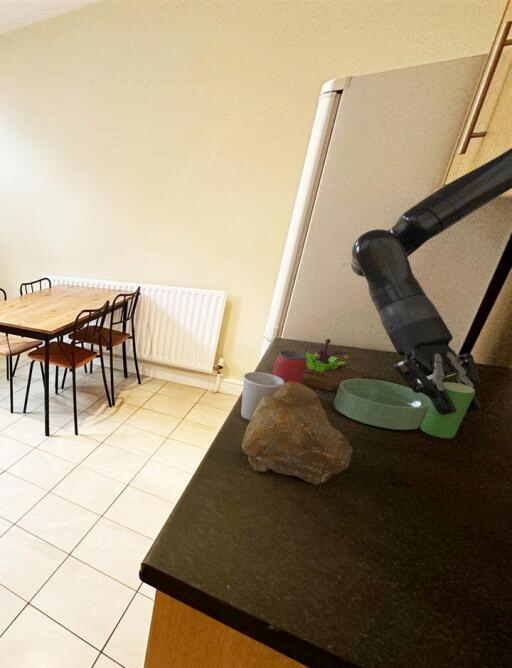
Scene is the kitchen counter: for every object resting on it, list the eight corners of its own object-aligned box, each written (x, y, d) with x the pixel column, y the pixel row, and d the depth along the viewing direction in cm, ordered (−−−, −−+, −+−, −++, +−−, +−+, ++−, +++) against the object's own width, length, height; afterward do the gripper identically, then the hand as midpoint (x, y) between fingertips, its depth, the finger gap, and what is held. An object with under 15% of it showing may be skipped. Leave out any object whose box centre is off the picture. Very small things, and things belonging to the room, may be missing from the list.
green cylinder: (434, 424, 77) (453, 380, 73) (461, 436, 73) (483, 390, 69) (413, 427, 76) (432, 383, 73) (440, 439, 72) (461, 393, 69)
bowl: (372, 397, 107) (379, 376, 105) (441, 428, 93) (452, 404, 90) (316, 403, 105) (323, 381, 103) (378, 435, 91) (388, 411, 88)
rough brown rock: (321, 518, 69) (360, 444, 63) (220, 470, 80) (244, 402, 73) (348, 464, 84) (382, 400, 77) (260, 429, 95) (283, 370, 88)
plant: (363, 374, 120) (376, 338, 116) (359, 398, 107) (373, 357, 103) (283, 360, 133) (292, 326, 128) (270, 379, 120) (280, 342, 115)
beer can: (265, 390, 113) (276, 349, 108) (294, 394, 110) (306, 352, 106) (267, 400, 108) (278, 357, 103) (297, 404, 105) (310, 360, 100)
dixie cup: (282, 423, 97) (293, 384, 92) (248, 425, 96) (257, 386, 92) (259, 407, 104) (268, 370, 100) (227, 409, 104) (235, 372, 100)
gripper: (399, 317, 73) (449, 409, 66) (468, 312, 74) (523, 401, 68) (361, 337, 80) (403, 422, 73) (425, 332, 81) (471, 414, 75)
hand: (461, 411), depth 71 cm, fingers closed on green cylinder, 4 cm apart
